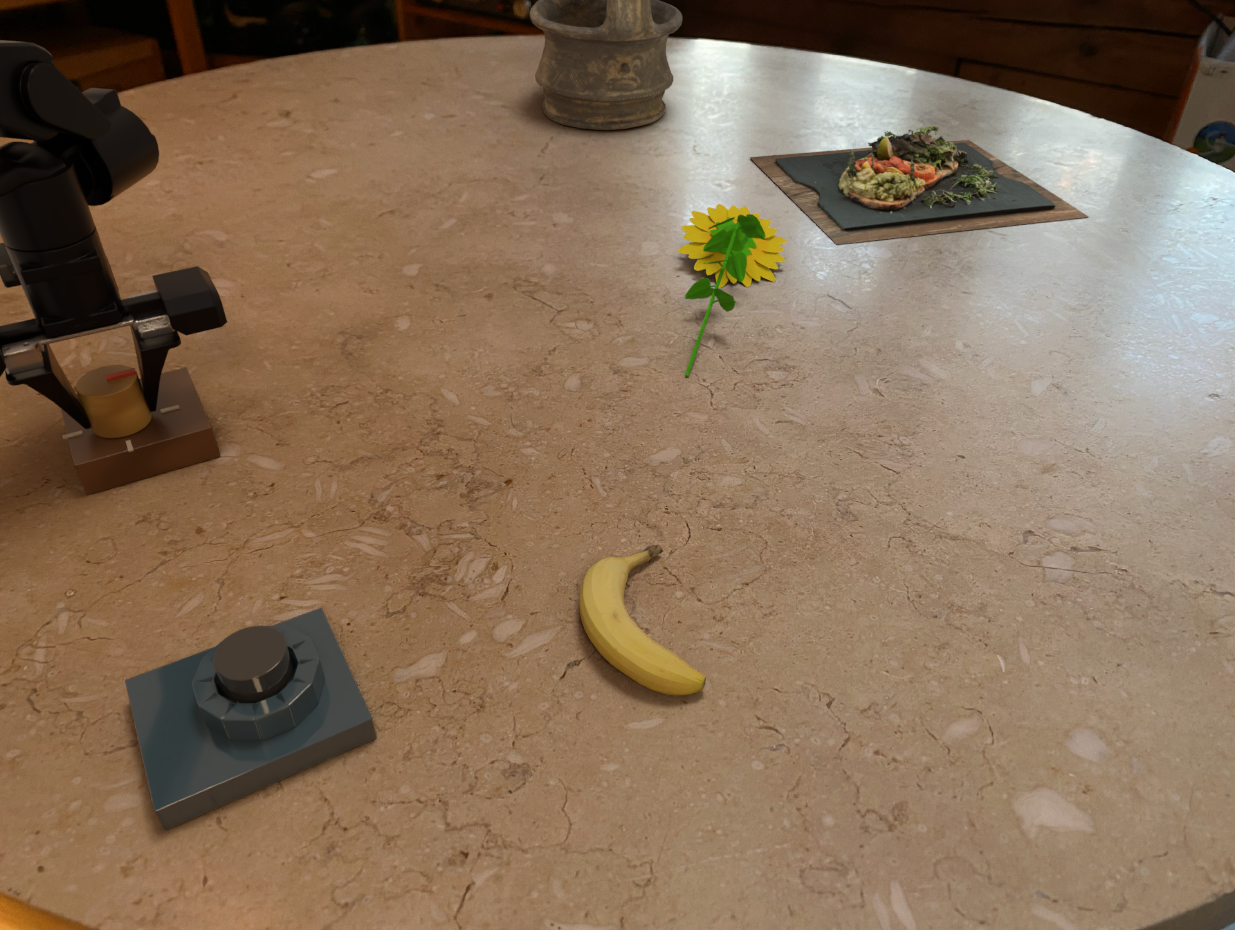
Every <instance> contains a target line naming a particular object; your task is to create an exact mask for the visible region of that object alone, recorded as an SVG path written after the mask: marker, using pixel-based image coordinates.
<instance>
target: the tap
mask: <svg viewBox="0 0 1235 930" xmlns="http://www.w3.org/2000/svg"><path fill="white" fill-rule="evenodd" d="M139 379H140V376H139V374H138V372H137V371H136V368H135V367H131V366H129V365H124V364H110V365H104V366H100V367H97V368H93V369H92V370H89V371H87V372H85V373H83V374H82V375H81V376H80V377H78V379H77V380H76V382H75V386H74V390H75V392H76V394H78V397H79V399H80V401H81V404H82V406H83V409H84V411H85V414H86V416H87V418H88V421H89V423H90V426H91V428H92V431H93V432H94V433H95V434H96V435H98V436H100V437H104V438H120V437H125V436H129V435H132V434H134V433H137V432H138V431H140V430H142V429H143V428H145V427H146V426H147V425H148V424H149V423H150V421H151V418H152V413H151V411H150V409H149V406H148V403H147V400H146V397H145V394H144V391H143V388H142V385H141V383H140V380H139Z"/></svg>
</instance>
